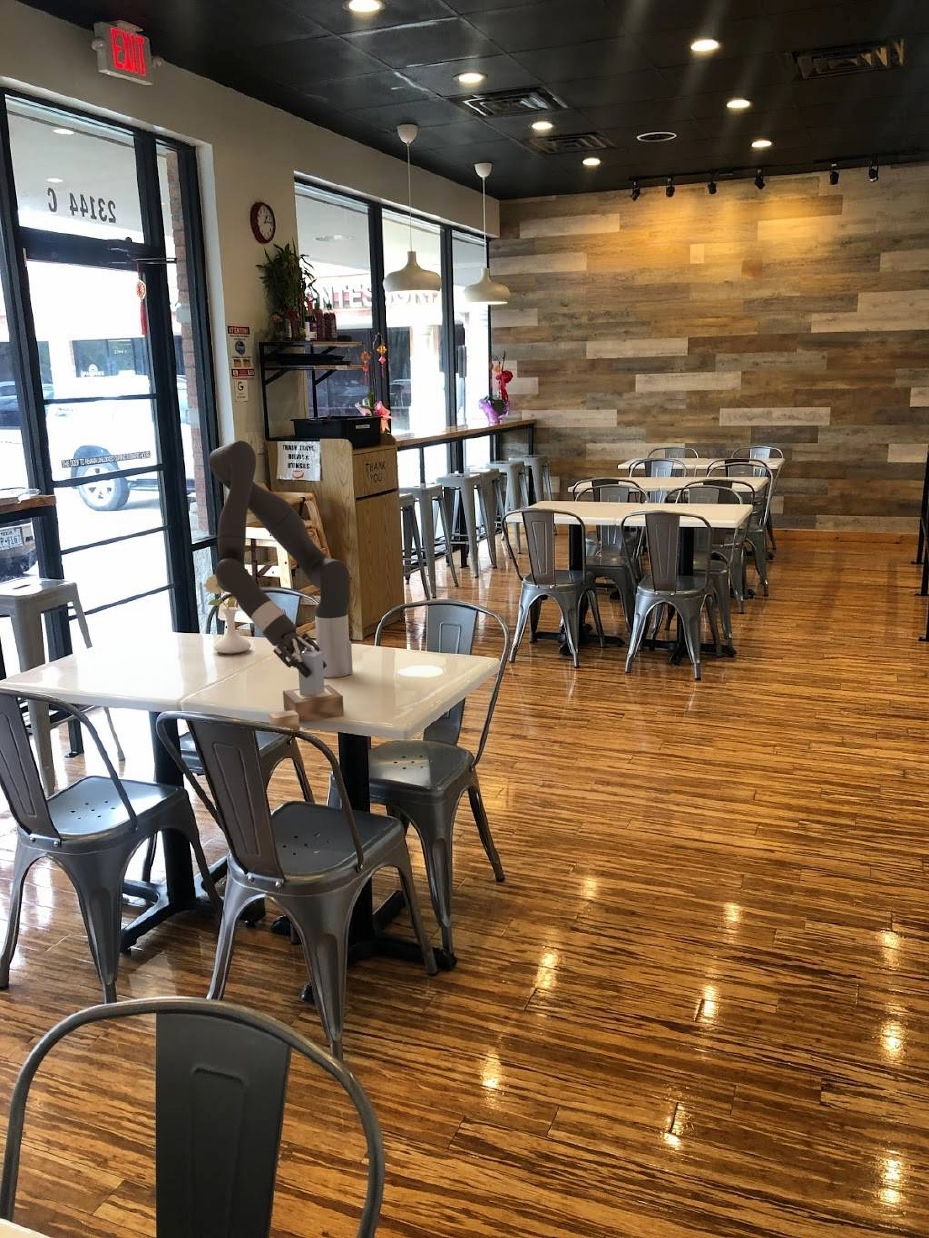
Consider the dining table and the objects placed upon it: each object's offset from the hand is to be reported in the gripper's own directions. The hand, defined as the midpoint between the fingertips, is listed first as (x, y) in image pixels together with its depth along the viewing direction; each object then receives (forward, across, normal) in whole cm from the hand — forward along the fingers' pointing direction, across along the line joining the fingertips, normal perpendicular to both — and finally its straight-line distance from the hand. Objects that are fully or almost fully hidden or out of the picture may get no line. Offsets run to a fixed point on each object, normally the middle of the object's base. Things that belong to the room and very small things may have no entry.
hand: (316, 671), depth 261 cm
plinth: (+6, 0, +9) cm, 11 cm away
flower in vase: (-34, +50, +49) cm, 78 cm away
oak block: (+7, -14, +9) cm, 18 cm away
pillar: (+3, 0, +5) cm, 6 cm away
